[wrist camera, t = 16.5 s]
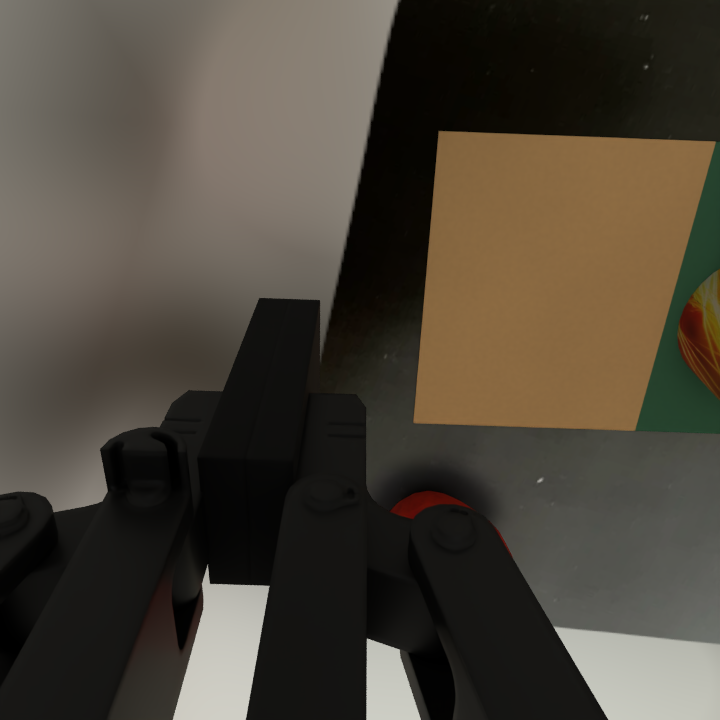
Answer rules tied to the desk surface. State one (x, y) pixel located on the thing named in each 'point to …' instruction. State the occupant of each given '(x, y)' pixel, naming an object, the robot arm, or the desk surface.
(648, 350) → the desk mat
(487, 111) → the desk surface
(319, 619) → the robot arm
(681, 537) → the desk surface
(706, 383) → the mug
